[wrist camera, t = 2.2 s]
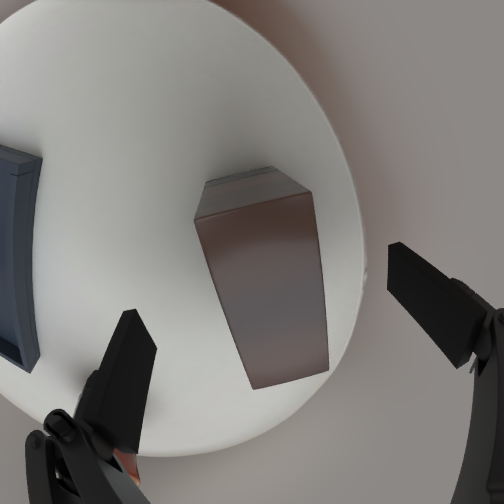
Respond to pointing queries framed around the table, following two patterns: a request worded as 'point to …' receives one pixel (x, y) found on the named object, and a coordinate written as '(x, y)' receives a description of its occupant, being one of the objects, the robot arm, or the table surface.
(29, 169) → the tray
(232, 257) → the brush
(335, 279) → the table surface
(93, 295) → the table surface
